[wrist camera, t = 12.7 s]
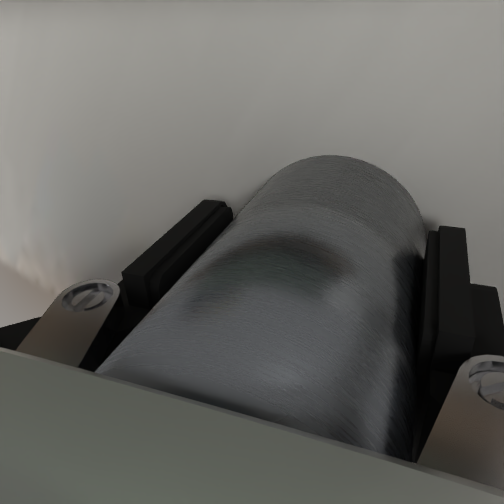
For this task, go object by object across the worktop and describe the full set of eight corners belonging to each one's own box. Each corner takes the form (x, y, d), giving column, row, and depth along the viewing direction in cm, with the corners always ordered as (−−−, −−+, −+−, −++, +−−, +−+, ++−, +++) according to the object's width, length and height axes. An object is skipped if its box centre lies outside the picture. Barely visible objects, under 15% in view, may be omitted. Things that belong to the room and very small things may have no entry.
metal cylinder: (440, 162, 10) (438, 438, 4) (412, 325, 13) (382, 655, 6) (246, 149, 12) (23, 330, 6) (254, 296, 15) (106, 537, 8)
